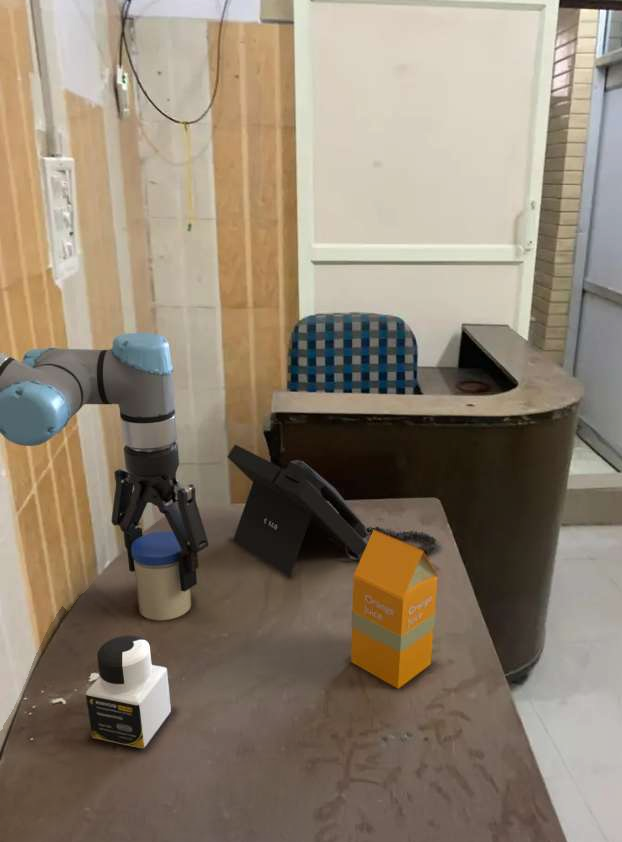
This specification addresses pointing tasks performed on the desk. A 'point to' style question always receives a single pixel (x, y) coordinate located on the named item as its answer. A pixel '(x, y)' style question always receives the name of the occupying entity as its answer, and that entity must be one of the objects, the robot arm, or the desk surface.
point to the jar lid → (156, 549)
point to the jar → (161, 591)
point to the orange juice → (393, 610)
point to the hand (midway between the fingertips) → (162, 577)
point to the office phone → (298, 512)
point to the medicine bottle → (127, 693)
